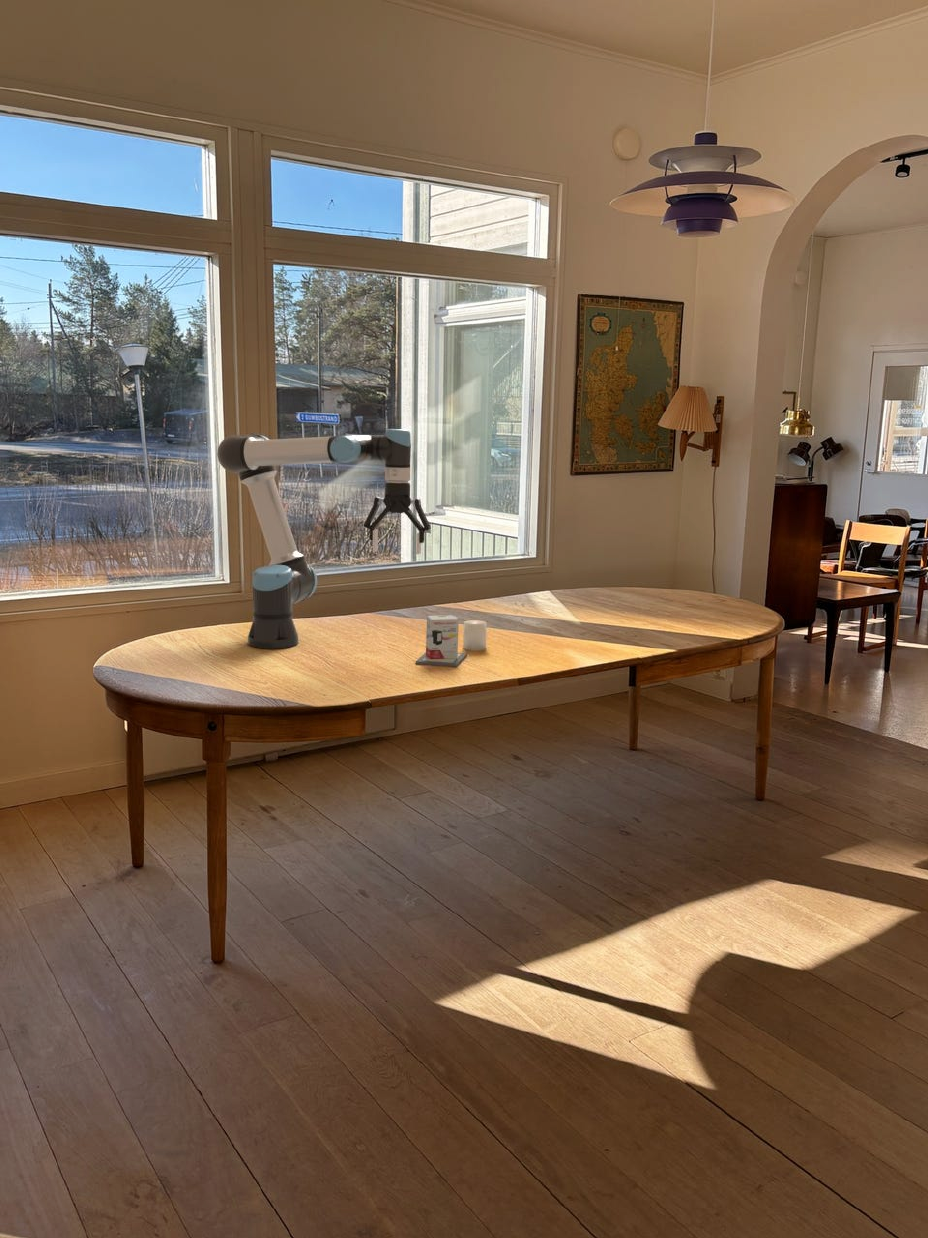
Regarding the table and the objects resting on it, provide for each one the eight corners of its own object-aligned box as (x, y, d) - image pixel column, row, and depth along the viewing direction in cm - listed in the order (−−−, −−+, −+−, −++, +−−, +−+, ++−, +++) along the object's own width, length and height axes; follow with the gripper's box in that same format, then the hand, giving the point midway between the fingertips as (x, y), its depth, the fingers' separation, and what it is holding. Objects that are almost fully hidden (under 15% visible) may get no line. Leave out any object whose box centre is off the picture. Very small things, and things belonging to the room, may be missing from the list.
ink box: (429, 659, 290) (430, 619, 288) (425, 655, 295) (426, 615, 292) (458, 658, 292) (459, 618, 290) (453, 654, 297) (454, 615, 294)
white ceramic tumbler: (460, 649, 307) (461, 624, 305) (465, 644, 314) (466, 619, 312) (483, 651, 306) (484, 625, 304) (487, 646, 312) (488, 621, 311)
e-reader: (415, 664, 288) (415, 660, 288) (427, 653, 301) (427, 650, 301) (456, 667, 286) (456, 664, 285) (467, 656, 299) (467, 653, 299)
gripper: (353, 480, 300) (353, 551, 304) (435, 484, 294) (433, 556, 299) (361, 479, 307) (361, 548, 311) (441, 482, 302) (439, 553, 306)
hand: (396, 552), depth 305 cm, fingers open, 13 cm apart
